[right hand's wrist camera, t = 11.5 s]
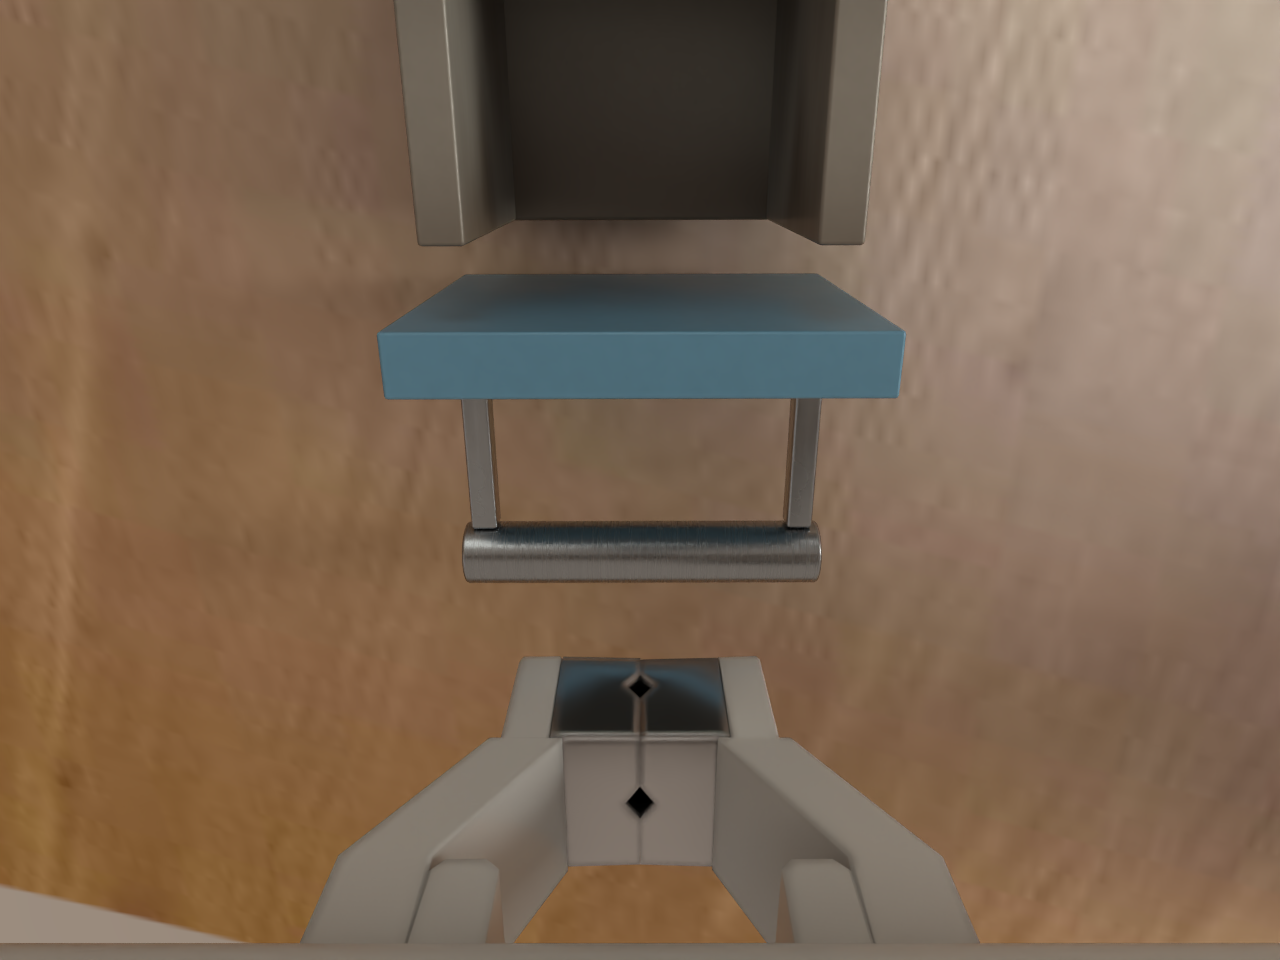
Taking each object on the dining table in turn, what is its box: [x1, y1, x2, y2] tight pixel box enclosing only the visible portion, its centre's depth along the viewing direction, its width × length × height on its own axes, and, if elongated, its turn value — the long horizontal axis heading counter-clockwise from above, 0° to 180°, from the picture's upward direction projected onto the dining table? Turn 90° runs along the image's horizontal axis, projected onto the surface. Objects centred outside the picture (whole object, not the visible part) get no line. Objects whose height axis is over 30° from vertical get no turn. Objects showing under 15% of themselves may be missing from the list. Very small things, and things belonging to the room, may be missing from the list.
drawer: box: [377, 0, 906, 583], centre depth 16 cm, size 21×9×8 cm, turn 0°
